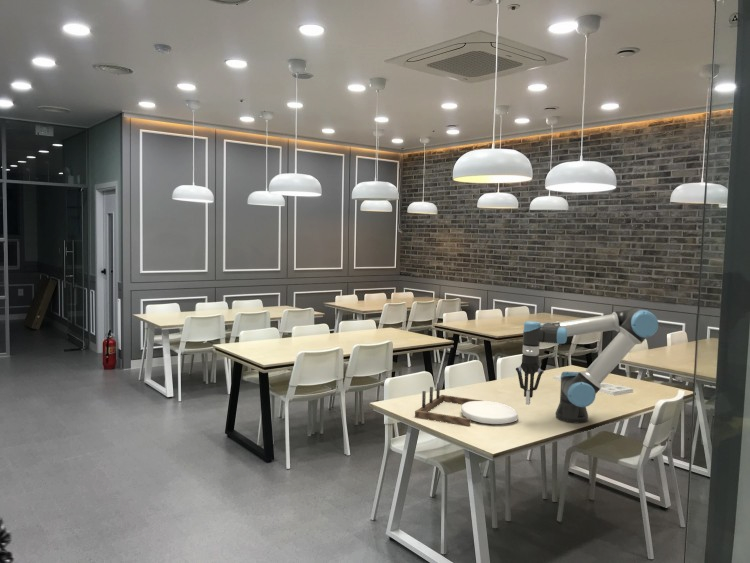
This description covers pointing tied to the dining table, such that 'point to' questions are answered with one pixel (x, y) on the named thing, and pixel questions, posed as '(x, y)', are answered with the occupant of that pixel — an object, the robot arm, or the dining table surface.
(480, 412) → the plate
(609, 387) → the holder
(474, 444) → the dining table surface
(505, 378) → the dining table surface
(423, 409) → the plate rack
